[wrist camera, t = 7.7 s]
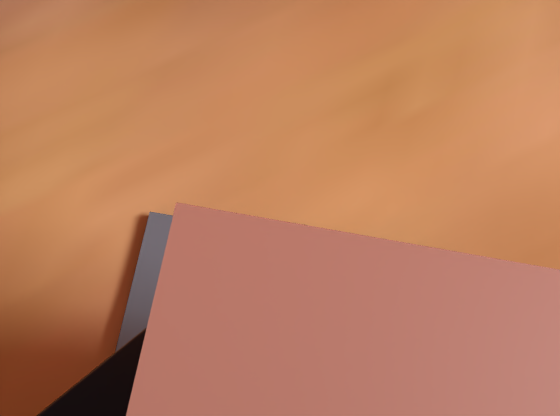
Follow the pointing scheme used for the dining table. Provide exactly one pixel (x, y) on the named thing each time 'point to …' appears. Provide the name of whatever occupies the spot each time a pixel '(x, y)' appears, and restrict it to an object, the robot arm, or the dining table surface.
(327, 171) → the dining table surface
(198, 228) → the red block
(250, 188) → the dining table surface
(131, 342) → the robot arm
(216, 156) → the dining table surface
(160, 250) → the slate mat
